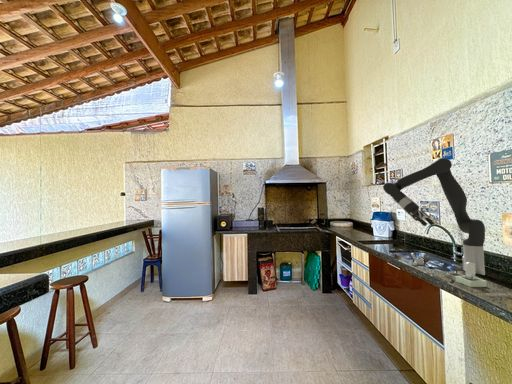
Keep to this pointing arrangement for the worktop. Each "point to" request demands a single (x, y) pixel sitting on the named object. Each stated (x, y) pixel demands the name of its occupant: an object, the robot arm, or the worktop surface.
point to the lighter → (417, 259)
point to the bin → (471, 282)
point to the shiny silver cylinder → (470, 271)
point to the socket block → (452, 275)
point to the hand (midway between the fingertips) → (429, 224)
